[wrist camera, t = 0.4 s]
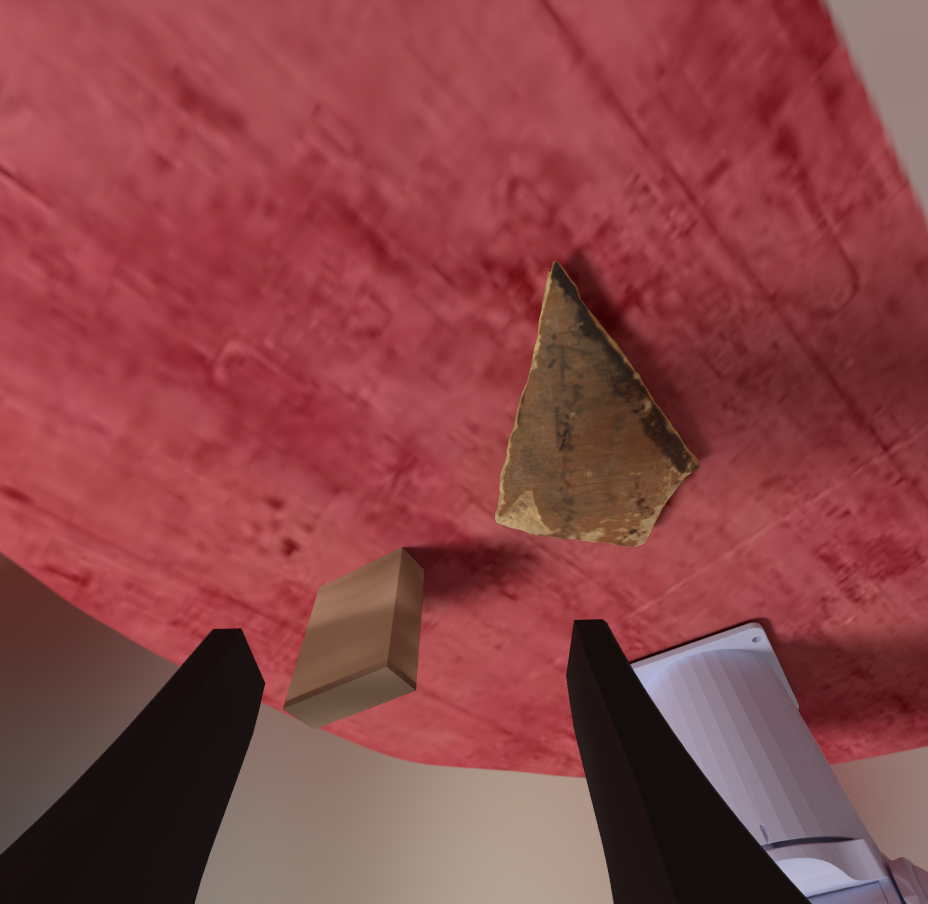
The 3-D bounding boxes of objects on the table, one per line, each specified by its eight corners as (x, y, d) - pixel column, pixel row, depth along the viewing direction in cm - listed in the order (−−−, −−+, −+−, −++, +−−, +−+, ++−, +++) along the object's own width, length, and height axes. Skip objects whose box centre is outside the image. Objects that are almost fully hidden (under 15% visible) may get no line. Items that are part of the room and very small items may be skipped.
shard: (546, 250, 16) (555, 262, 14) (765, 286, 17) (795, 302, 15) (486, 506, 22) (488, 534, 20) (650, 525, 23) (664, 553, 21)
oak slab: (424, 569, 23) (415, 690, 18) (343, 607, 25) (314, 729, 20) (402, 546, 22) (386, 666, 17) (319, 587, 24) (282, 709, 19)
